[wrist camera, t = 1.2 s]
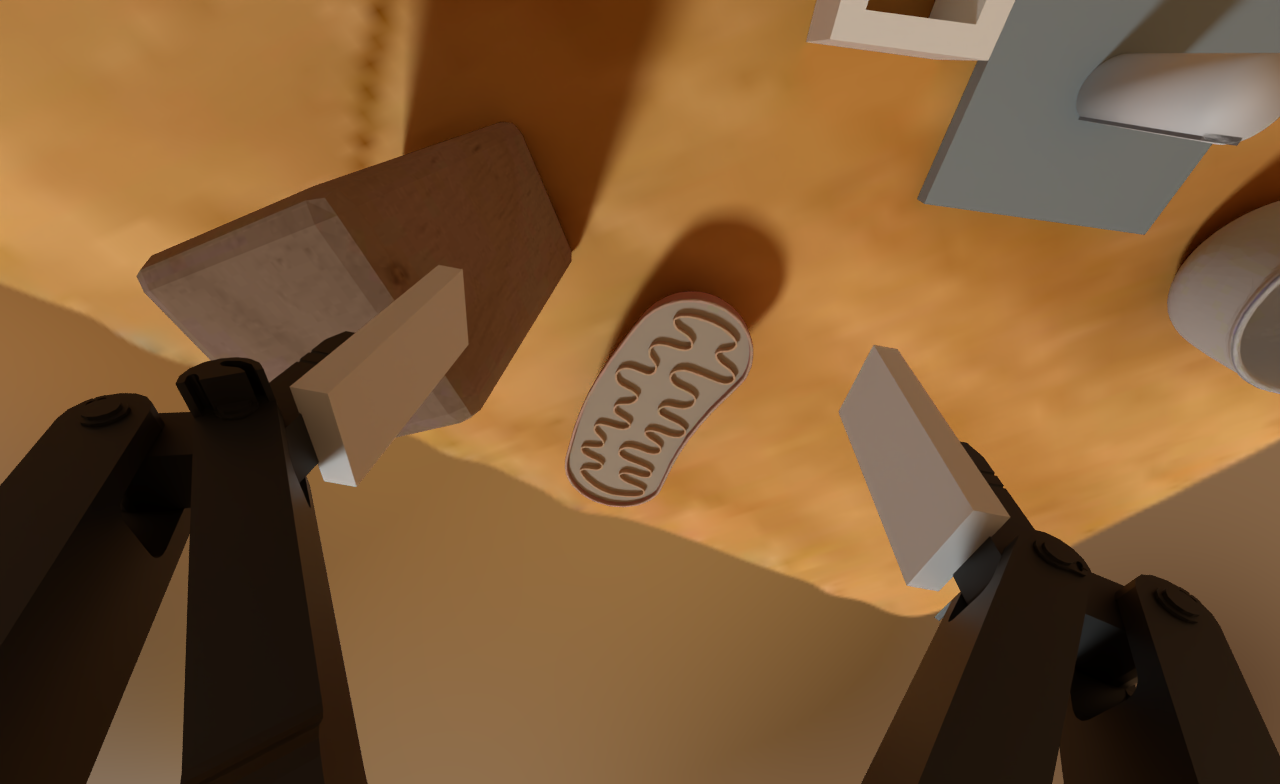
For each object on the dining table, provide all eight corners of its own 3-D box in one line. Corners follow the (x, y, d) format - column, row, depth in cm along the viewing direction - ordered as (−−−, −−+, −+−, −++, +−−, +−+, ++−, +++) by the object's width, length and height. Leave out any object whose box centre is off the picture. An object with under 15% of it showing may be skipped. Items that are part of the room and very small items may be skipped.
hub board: (1049, -103, 23) (1220, -180, 15) (1342, -65, 22) (1661, -124, 15) (917, 199, 31) (986, 244, 24) (1130, 229, 31) (1268, 284, 23)
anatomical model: (644, 481, 49) (639, 519, 45) (556, 445, 48) (543, 482, 44) (770, 304, 36) (779, 335, 32) (656, 246, 35) (651, 271, 31)
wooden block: (519, 114, 30) (317, 183, 14) (579, 258, 36) (481, 427, 20) (395, 166, 33) (107, 273, 17) (468, 293, 38) (301, 467, 22)
